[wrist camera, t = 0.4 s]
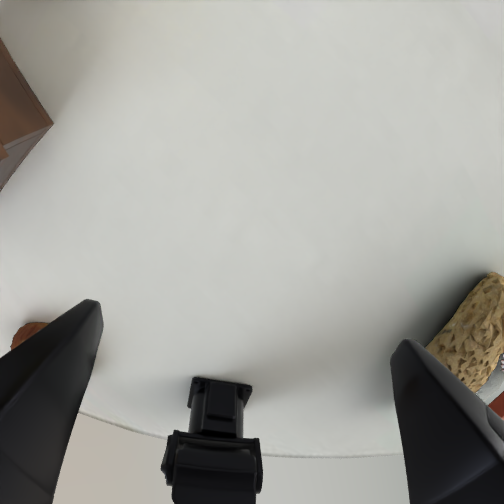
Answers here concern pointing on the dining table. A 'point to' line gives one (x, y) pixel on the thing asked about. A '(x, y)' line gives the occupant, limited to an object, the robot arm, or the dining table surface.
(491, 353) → the sponge
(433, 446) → the robot arm
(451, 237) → the dining table surface
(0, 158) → the hatch
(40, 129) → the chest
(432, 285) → the dining table surface
